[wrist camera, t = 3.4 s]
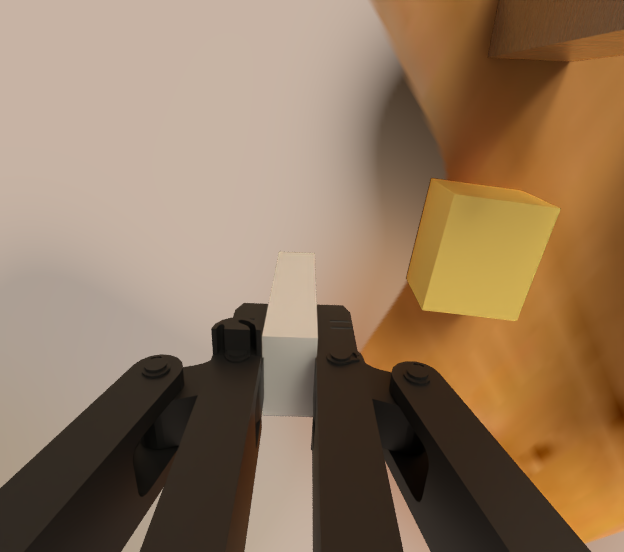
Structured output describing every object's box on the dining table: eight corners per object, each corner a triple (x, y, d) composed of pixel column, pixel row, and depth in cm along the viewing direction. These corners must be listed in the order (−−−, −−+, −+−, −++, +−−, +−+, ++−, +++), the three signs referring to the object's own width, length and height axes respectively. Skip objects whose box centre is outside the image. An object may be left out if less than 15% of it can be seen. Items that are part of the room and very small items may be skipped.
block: (430, 177, 22) (454, 194, 18) (519, 189, 22) (560, 208, 18) (405, 277, 24) (422, 310, 21) (486, 287, 25) (516, 321, 21)
